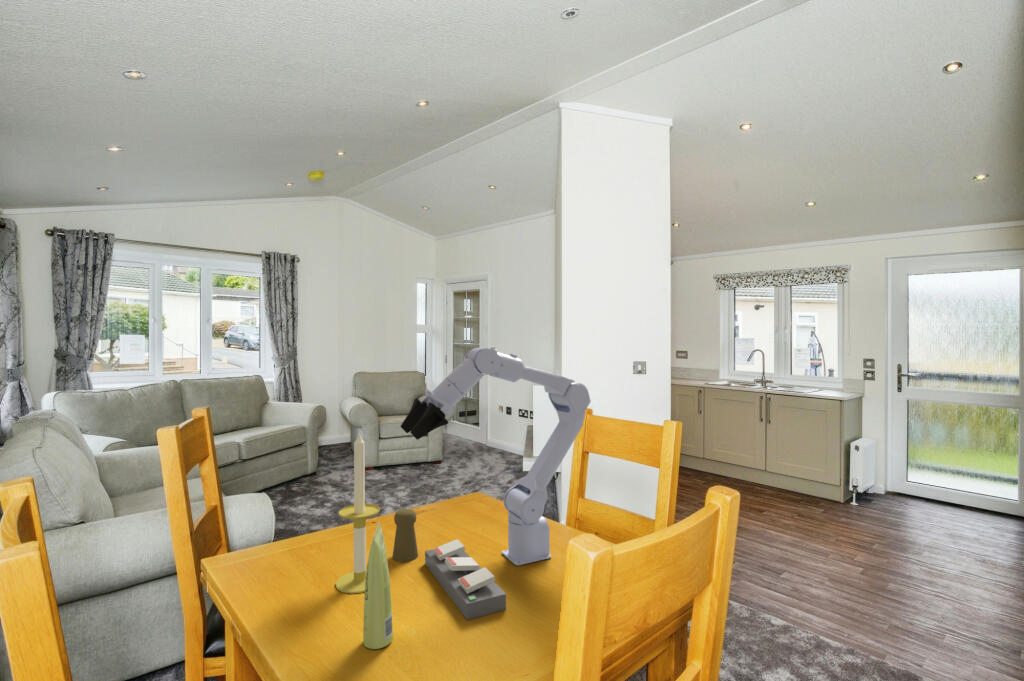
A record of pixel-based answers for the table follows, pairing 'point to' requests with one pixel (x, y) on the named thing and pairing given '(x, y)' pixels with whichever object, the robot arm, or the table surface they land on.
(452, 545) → the rocker
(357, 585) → the candle
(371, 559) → the tube
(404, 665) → the table surface
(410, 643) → the table surface
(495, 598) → the strip
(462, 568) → the rocker
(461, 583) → the rocker
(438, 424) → the robot arm
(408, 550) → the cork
